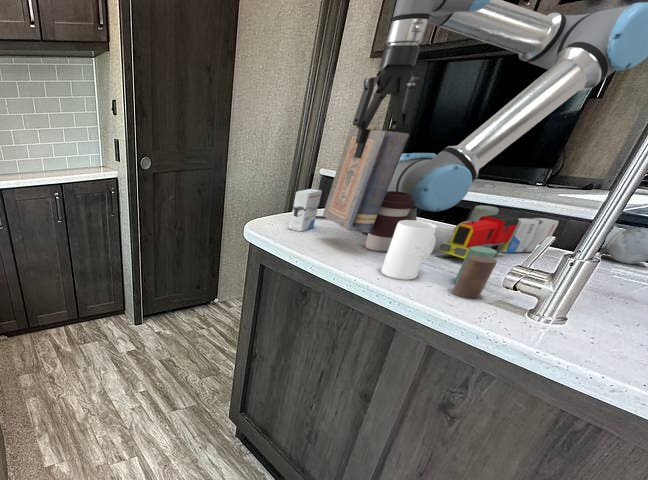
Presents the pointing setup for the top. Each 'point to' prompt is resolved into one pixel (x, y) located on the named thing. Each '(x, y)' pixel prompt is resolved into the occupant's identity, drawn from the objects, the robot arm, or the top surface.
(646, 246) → the figurine
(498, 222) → the toy train
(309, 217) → the ink box
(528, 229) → the ink box
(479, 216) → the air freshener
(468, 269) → the walnut peg
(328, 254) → the top surface
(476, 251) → the sage peg
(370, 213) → the book
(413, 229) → the mug
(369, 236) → the coffee cup
